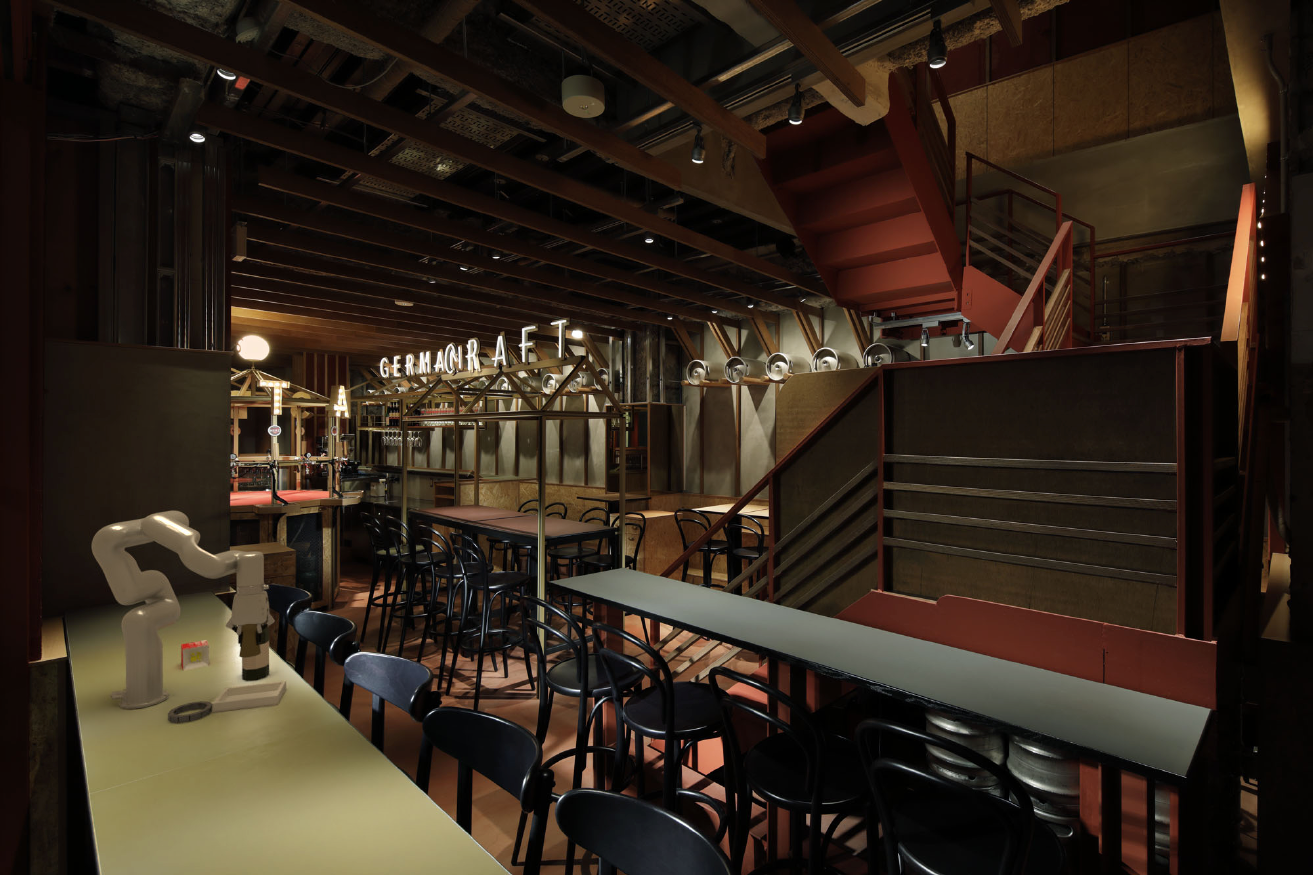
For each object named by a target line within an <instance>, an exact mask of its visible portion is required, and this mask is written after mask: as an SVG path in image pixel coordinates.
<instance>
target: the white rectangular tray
mask: <svg viewBox="0 0 1313 875" xmlns="http://www.w3.org/2000/svg"><path fill="white" fill-rule="evenodd" d="M286 690H287V680H283V681H282V680H281V681H273V682H265V683H256V684H248V685H237V686H231V687H230V686H229V687H225V688H224V689H223V690H222V691H221V692H220V694H219V695H218V696H217V697H216V698H215V700H213V702H211V703H212V712H211V713H212V714H215V713H225V712H231V711H232V712H233V711H240V710H248V709H256V708H263V707H272V706H278V705H279V703H280V701H281V699H282V697H283V696H284V694H285V692H286Z"/></svg>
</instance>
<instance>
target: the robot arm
mask: <svg viewBox="0 0 1313 875" xmlns="http://www.w3.org/2000/svg"><path fill="white" fill-rule="evenodd" d="M189 526H190V521H189V517H188V515H186V514H185V513H183V512H181V511H179V510H168V511H162V512H155V513H152V514H150V515H147V516H146V517H144V518H140V519H138V518H137V519H133V520H127V521H120V522H115V523H112V524H108V525H106V526H103V527H101V529H99V530H98V531H97V532H96V533H95V535H94V536H93V539H92V540H91V551H92V552H91V553H92V554H93V556H94V558H95V560H96V562H97V563H98V564H99V566H100V568H101V570H102V572H103V574H104V576H105V579H106V581H107V584H108V586H109V588H110V589H111V592H112V594H113V597H114V598H115V600H116V602H117V603H119V604H120V605H123V606H131V605H135V604H137V603H141V602H145V604H143V605H140V606H137V607H135V608H133V609H131V610H129V611H128V612H127V613H126V614H124V616H123V618H122V620H121V626H120V627H121V632H122V634H123V639H124V647H125V651H124V652H125V689H123V690H118V691H117V690H116V691H112V692H111V693H110V698H111V699H112V700H113V701H114V700H120V701H119V707H120V708H121V709H126V710H133V709H142V708H147V707H151V706H154V705H157V704H159V703H162V702H164V701H166V700H167V699H168V698H169V696H170V692H169V691H167V690H164V687H163V686H164V680H163V678H164V674H163V673H164V666H163V665H164V664H163V663H164V660H163V658H164V657H163V656H164V655H163V654H164V653H163V642H162V638H161V637H160V636H159V632H158V631H159V630H162V629H164V628H166V627H169V626H172V625H173V624H175V623H176V622H177V621H179V618H180V616H181V611H182V610H181V606H180V603H179V601H178V598H177V596H176V594H175V592H174V589H173V588H172V585H171V583H170V581H169V579H168V578H167V576H166V575H165V574H164V573H163V572H161V571H159V570H155V569H154V570H153V569H149V570H144V571H141V569H140V567H139V566H138V563H137V560H135V558H134V557H133V556H132V555H131V554H130V553H129V552H128V551H126V550H125V549H126V548H131V547H135V546H139V545H145V544H147V543H153V542H156V543H157V544H159V545H161V546H163V547H165V548H166V549H169V550H170V551H173V552H174V553H176V554H177V555H178V557H179V559H180V560H181V562H182V564H183V565H184V566H185V567H186V568H187V569H189V570H190V571H192V572H194V573H196V574H198V575H199V576H202V577H203V578H208V579H220V578H222V577H225V576H227V575H228V576H229V575H231V574H232V575H233V574H236V593H235V594H234V595H233V596H234V597H233V602H232V608H231V617H230V619H229V620H227V622H226V623H225V627H226V628H228V629H230V630H232V631H233V632H234V633H235V634H236V635H237V644H239V647H240V648H241V646H242V639H243V632H242V631H241V626H242V625H245V624H256V625H257V633H256V644H257V645H259V644H260V643H261V642H262V640H263V630H264V629H265V628H266V627H268V628H269V626H271V625H272V624H274V622H276V620H275V619H274V617H273V616H272V615H271V613H270V602H269V596H268V592H267V591H266V590H269V589H270V586H269V584H265V581H264V578H265V576H264V575H265V572H264V571H265V568H264V566H265V565H264V562H265V560H264V559H265V558H264V556H265V555H264V554H263V552H262V551H243V550H242V551H241V550H234V549H233V550H232V549H231V550H227V551H223V552H219V553H217V554H212V553H210V552H208V551H206V550H204V549H203V548H202V547H200V546H199V545H198V544H199V542H200V539H201V534H200V532H199V531H197V530H196V529H193V528H192V527H189ZM263 623H265V624H264V625H263Z"/></svg>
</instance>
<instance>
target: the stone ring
mask: <svg viewBox="0 0 1313 875" xmlns="http://www.w3.org/2000/svg"><path fill="white" fill-rule="evenodd" d="M212 703H213V702H211V701H206V700H202V701H192V702H187V703H183V704H181V705H178V706H175V707H174V708H172V709H170V710H169V711H168V712H167V721H168V722H169V723H171V724H184V723H191V722H193V721H194V722H195V721H197V720H201V719H204V718H206V717H207V716H209V715H211V713H212ZM194 710H198V711H195V712H192V713H187V712H189V711H194ZM183 713H187V714H183Z"/></svg>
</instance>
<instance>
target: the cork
mask: <svg viewBox="0 0 1313 875" xmlns="http://www.w3.org/2000/svg"><path fill="white" fill-rule="evenodd" d="M241 631H242V632H243V639H242V646H241V647H240V649H239V656H238V657H240V658H242V657H243V658H246V657H253V656H256V655H259V654H260V653H261V650H260V644H259V645H257V644H256V633H257V625H256V624H245V625H242V626H241Z"/></svg>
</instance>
